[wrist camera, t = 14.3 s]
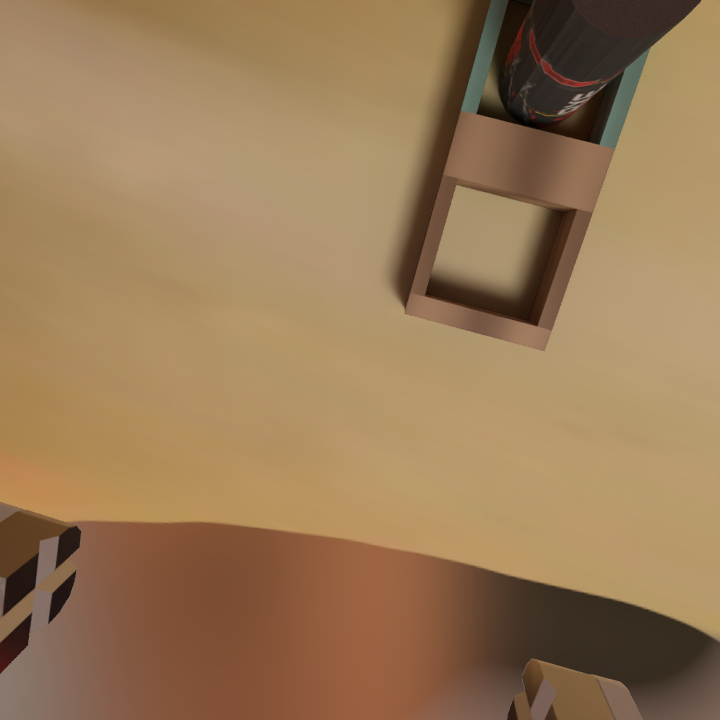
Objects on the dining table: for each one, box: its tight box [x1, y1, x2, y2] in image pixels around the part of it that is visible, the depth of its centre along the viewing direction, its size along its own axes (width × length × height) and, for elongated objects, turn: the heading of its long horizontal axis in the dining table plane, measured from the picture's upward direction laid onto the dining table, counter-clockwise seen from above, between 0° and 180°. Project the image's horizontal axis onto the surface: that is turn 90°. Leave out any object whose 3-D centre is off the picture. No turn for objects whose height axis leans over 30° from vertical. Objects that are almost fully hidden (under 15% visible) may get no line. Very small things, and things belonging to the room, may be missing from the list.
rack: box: [405, 0, 650, 351], centre depth 34 cm, size 10×23×3 cm, turn 166°
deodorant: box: [499, 0, 701, 128], centre depth 27 cm, size 6×6×15 cm
